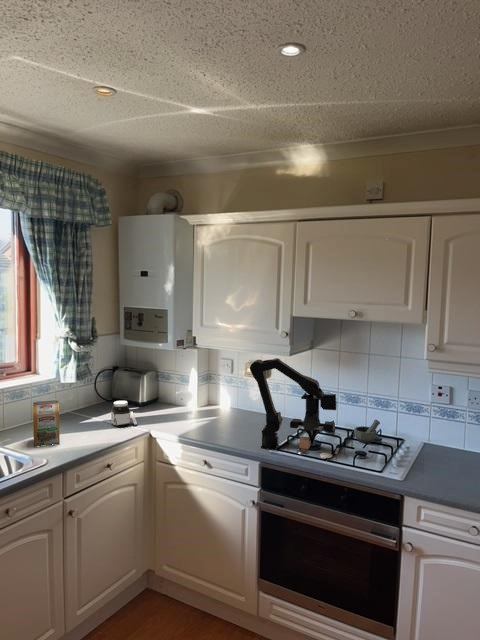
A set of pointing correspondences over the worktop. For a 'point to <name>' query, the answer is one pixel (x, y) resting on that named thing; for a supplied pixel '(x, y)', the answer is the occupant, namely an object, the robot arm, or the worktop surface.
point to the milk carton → (46, 422)
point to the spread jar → (121, 414)
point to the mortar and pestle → (366, 432)
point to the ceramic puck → (326, 455)
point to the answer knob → (304, 442)
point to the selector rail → (335, 451)
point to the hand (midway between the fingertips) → (312, 444)
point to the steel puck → (302, 452)
